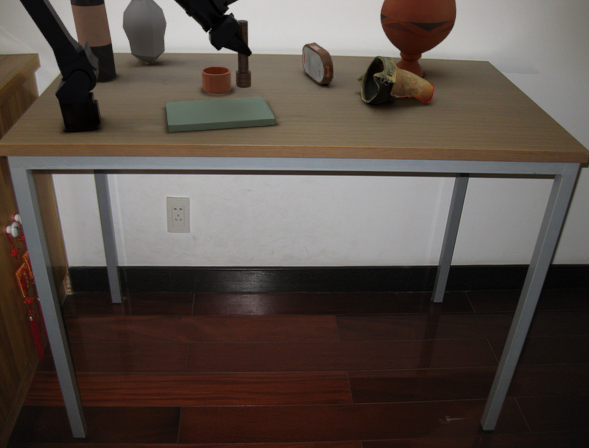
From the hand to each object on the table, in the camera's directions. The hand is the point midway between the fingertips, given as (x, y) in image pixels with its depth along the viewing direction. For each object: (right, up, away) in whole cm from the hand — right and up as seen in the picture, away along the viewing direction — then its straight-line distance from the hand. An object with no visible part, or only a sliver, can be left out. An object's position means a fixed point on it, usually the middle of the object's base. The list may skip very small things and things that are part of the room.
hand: (249, 53), depth 102 cm
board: (-7, -12, +6) cm, 15 cm away
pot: (+31, -6, +17) cm, 36 cm away
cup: (-10, -3, +19) cm, 22 cm away
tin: (+15, +3, +29) cm, 33 cm away
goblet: (+41, +6, +36) cm, 55 cm away
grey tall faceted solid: (-31, +9, +35) cm, 47 cm away
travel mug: (-40, +2, +24) cm, 46 cm away
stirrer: (-2, -6, +3) cm, 7 cm away
